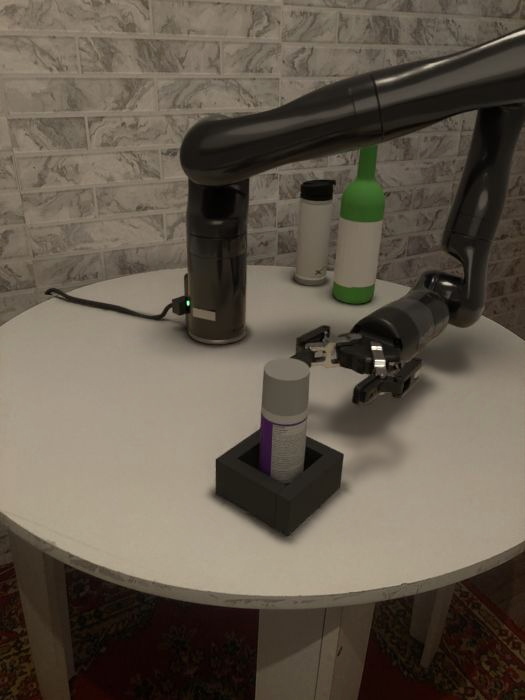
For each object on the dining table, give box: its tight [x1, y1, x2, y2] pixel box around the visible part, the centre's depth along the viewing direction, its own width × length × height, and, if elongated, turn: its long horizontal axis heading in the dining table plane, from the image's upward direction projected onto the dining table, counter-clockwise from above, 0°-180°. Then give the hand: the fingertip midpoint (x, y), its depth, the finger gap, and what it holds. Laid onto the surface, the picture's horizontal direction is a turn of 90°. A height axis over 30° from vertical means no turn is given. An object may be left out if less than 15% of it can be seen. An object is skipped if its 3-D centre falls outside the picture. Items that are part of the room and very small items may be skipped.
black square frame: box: [215, 428, 345, 537], centre depth 63 cm, size 10×10×4 cm
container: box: [259, 357, 311, 486], centre depth 61 cm, size 5×5×15 cm
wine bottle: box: [332, 144, 386, 305], centre depth 106 cm, size 8×8×30 cm
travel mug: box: [294, 178, 337, 287], centre depth 115 cm, size 6×7×20 cm
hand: (321, 382), depth 64 cm, fingers open, 8 cm apart
